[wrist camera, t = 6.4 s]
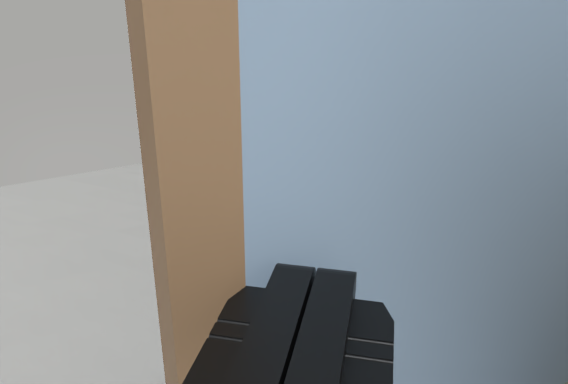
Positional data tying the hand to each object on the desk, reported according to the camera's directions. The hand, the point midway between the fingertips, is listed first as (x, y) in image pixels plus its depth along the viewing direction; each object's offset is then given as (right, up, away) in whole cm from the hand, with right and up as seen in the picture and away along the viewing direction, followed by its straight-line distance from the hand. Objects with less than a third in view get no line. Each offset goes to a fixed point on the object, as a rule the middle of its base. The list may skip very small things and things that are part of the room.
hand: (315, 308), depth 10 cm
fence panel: (+3, -5, +5) cm, 8 cm away
